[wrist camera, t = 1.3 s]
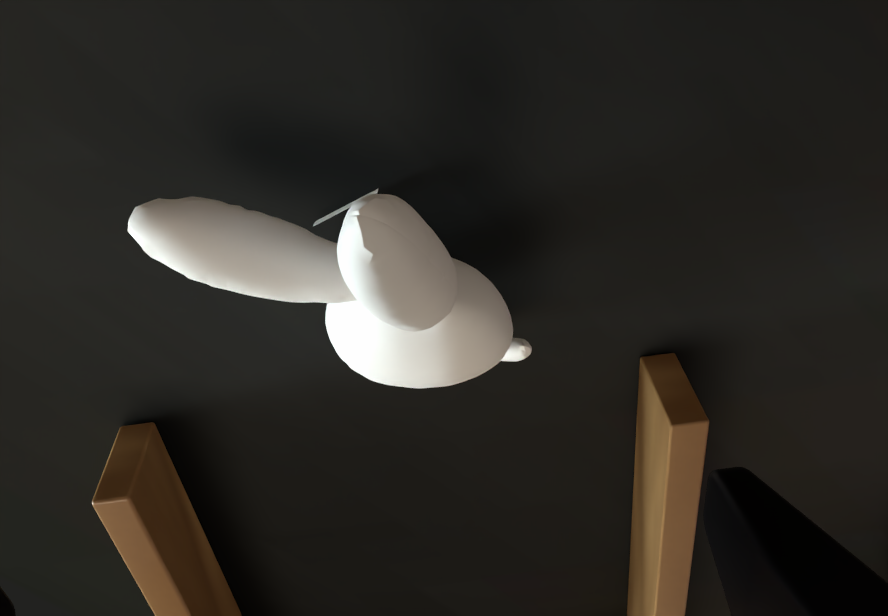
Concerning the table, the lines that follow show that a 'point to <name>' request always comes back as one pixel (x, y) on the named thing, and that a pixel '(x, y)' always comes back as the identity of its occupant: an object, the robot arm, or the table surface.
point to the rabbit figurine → (348, 282)
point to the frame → (210, 599)
